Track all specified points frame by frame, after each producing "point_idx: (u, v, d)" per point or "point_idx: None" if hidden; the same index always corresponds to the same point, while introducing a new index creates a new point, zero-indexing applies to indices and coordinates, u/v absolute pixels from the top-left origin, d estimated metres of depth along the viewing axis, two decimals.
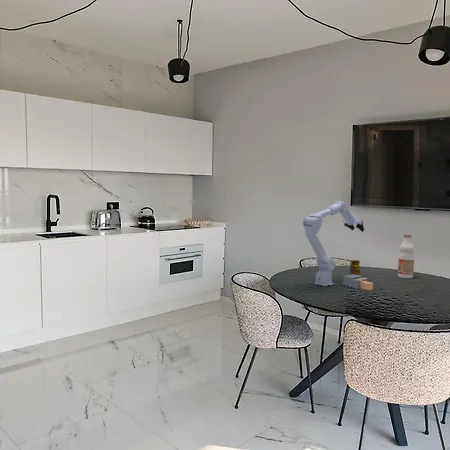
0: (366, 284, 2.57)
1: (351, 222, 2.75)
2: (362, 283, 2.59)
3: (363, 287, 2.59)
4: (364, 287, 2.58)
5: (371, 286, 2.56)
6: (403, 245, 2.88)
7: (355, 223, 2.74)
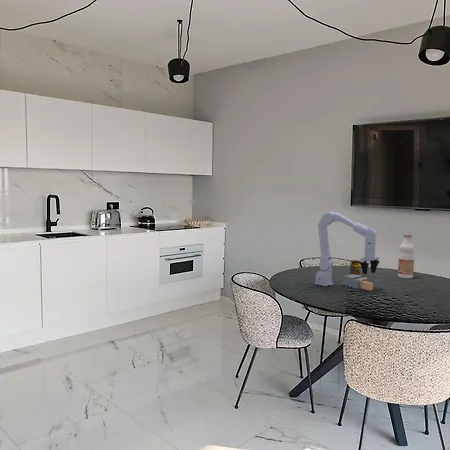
0: (366, 284, 2.57)
1: None
2: (362, 283, 2.59)
3: (363, 287, 2.59)
4: (364, 287, 2.58)
5: (371, 286, 2.56)
6: (403, 245, 2.88)
7: None
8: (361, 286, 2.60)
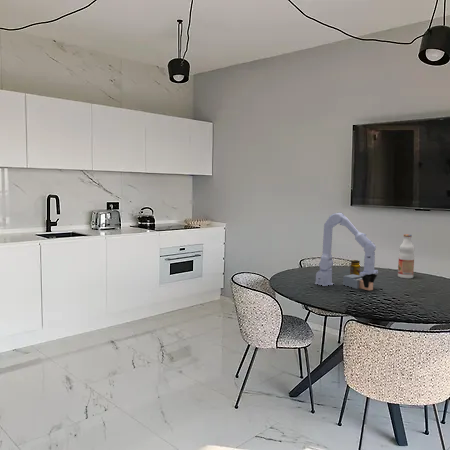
0: None
1: (364, 269, 2.57)
2: (362, 283, 2.59)
3: (363, 287, 2.59)
4: (364, 287, 2.58)
5: (371, 286, 2.56)
6: (403, 245, 2.88)
7: None
8: (361, 286, 2.60)
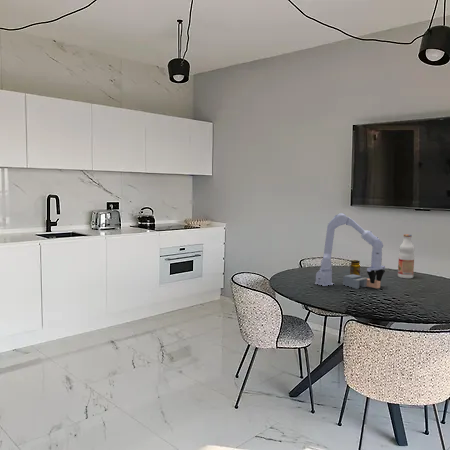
0: (374, 282, 2.62)
1: (371, 265, 2.63)
2: None
3: (371, 285, 2.64)
4: (372, 285, 2.63)
5: (378, 284, 2.61)
6: (403, 245, 2.88)
7: (369, 267, 2.61)
8: (368, 284, 2.65)
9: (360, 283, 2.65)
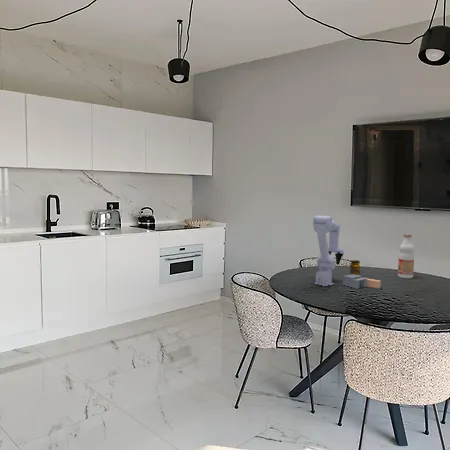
0: (375, 282, 2.62)
1: (333, 248, 2.78)
2: (370, 281, 2.64)
3: (371, 285, 2.64)
4: (372, 285, 2.63)
5: (379, 284, 2.62)
6: (403, 245, 2.88)
7: (336, 250, 2.76)
8: (369, 284, 2.64)
9: (360, 283, 2.65)
